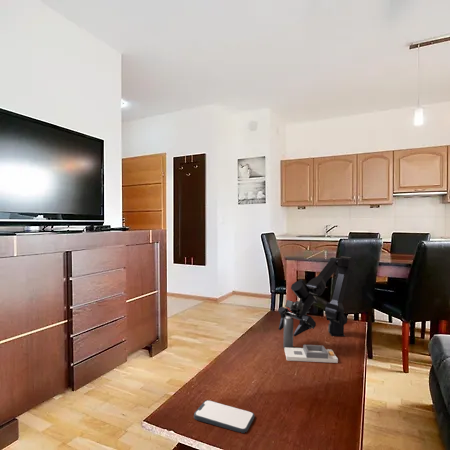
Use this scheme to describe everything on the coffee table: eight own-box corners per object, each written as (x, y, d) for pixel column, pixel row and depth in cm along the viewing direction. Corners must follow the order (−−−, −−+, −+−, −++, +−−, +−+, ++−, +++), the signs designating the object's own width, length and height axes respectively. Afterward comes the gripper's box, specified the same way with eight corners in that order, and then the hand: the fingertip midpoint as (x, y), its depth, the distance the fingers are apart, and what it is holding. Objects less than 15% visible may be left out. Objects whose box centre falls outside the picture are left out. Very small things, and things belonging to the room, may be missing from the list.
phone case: (255, 418, 92) (205, 403, 98) (255, 412, 92) (206, 398, 98) (245, 437, 84) (191, 420, 90) (245, 431, 84) (192, 414, 90)
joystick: (288, 345, 145) (288, 315, 145) (295, 348, 141) (295, 317, 141) (281, 347, 143) (281, 316, 142) (288, 350, 139) (288, 319, 139)
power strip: (331, 352, 137) (331, 344, 137) (337, 362, 127) (337, 354, 127) (284, 350, 139) (284, 342, 138) (286, 360, 129) (287, 351, 129)
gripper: (281, 289, 152) (263, 316, 146) (311, 297, 136) (292, 328, 130) (293, 304, 156) (275, 330, 150) (323, 313, 141) (305, 343, 135)
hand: (286, 332), depth 141 cm, fingers open, 9 cm apart
